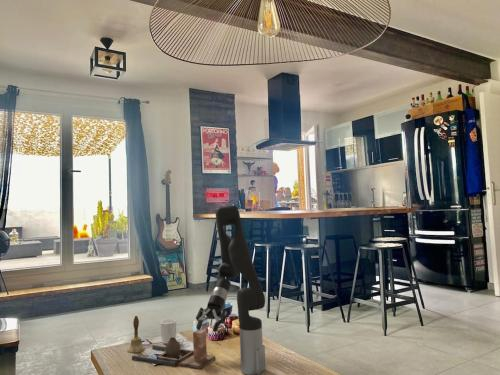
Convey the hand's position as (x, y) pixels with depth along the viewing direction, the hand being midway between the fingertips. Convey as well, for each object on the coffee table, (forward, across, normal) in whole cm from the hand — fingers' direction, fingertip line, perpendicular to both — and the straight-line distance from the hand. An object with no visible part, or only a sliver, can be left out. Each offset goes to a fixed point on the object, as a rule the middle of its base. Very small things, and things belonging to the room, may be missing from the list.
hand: (206, 330), depth 170 cm
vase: (+12, -15, +5) cm, 20 cm away
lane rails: (+12, -20, +5) cm, 24 cm away
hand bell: (+10, -39, +7) cm, 41 cm away
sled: (+12, -8, +5) cm, 15 cm away
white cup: (0, -31, +18) cm, 36 cm away
